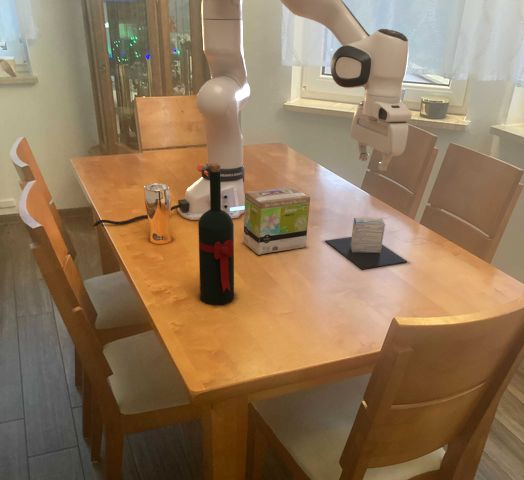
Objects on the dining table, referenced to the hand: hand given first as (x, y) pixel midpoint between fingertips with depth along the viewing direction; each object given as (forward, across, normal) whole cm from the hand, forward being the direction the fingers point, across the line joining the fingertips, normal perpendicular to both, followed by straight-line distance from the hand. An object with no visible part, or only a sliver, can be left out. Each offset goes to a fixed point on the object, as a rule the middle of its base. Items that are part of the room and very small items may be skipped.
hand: (372, 165), depth 140 cm
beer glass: (+24, -23, -51) cm, 61 cm away
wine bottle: (+24, +16, -47) cm, 55 cm away
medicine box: (+23, +3, 0) cm, 23 cm away
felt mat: (+23, +3, 0) cm, 23 cm away
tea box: (+24, -9, -22) cm, 33 cm away
